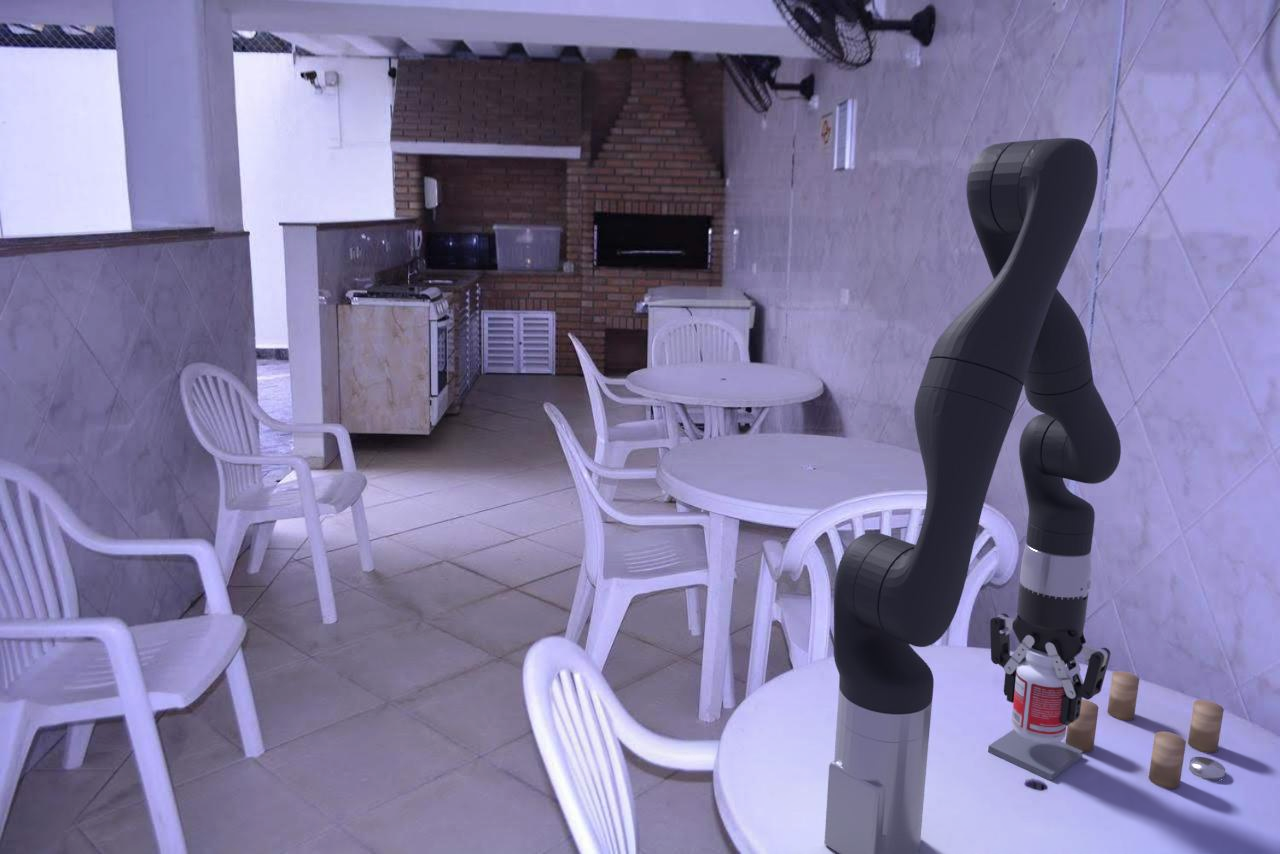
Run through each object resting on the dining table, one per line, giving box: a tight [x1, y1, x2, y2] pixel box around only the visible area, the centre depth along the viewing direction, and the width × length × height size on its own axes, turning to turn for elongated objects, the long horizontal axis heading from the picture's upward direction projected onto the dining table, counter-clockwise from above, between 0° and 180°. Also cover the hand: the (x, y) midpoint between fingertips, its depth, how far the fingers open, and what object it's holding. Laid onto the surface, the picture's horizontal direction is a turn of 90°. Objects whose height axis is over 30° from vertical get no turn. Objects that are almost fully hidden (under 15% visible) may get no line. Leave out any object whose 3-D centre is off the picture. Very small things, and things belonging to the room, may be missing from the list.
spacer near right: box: [1065, 698, 1099, 753], centre depth 115 cm, size 3×3×6 cm
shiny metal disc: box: [1188, 756, 1226, 782], centre depth 110 cm, size 4×4×1 cm
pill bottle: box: [1011, 648, 1067, 744], centre depth 112 cm, size 6×6×11 cm
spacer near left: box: [1148, 731, 1187, 790], centre depth 108 cm, size 3×3×6 cm
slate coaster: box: [987, 728, 1084, 781], centre depth 114 cm, size 8×8×1 cm
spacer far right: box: [1107, 670, 1140, 722], centre depth 123 cm, size 3×3×6 cm
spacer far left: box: [1187, 699, 1224, 754], centre depth 115 cm, size 3×3×6 cm
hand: (1040, 710), depth 113 cm, fingers closed on pill bottle, 6 cm apart
